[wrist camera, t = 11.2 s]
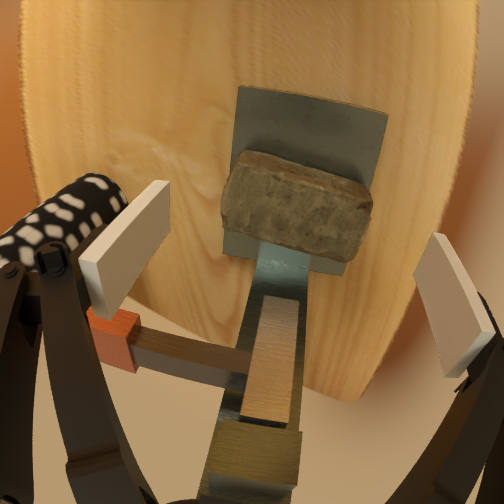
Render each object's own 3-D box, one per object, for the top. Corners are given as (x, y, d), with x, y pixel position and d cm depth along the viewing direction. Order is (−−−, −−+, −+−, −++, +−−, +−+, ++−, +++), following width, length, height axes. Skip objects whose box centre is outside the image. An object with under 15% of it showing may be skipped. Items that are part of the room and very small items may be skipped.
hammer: (122, 258, 22) (54, 351, 14) (300, 294, 21) (290, 417, 14) (128, 295, 24) (72, 385, 16) (290, 330, 23) (277, 443, 16)
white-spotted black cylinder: (142, 228, 33) (33, 373, 17) (93, 246, 36) (-6, 367, 19) (107, 161, 29) (-42, 277, 13) (60, 188, 32) (-63, 293, 15)
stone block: (348, 238, 28) (353, 270, 24) (226, 204, 29) (211, 232, 24) (370, 181, 25) (382, 206, 21) (238, 144, 25) (223, 161, 21)
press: (242, 85, 24) (-15, 209, 4) (384, 112, 23) (599, 322, 3) (223, 276, 35) (146, 493, 15) (331, 296, 34) (327, 524, 14)
